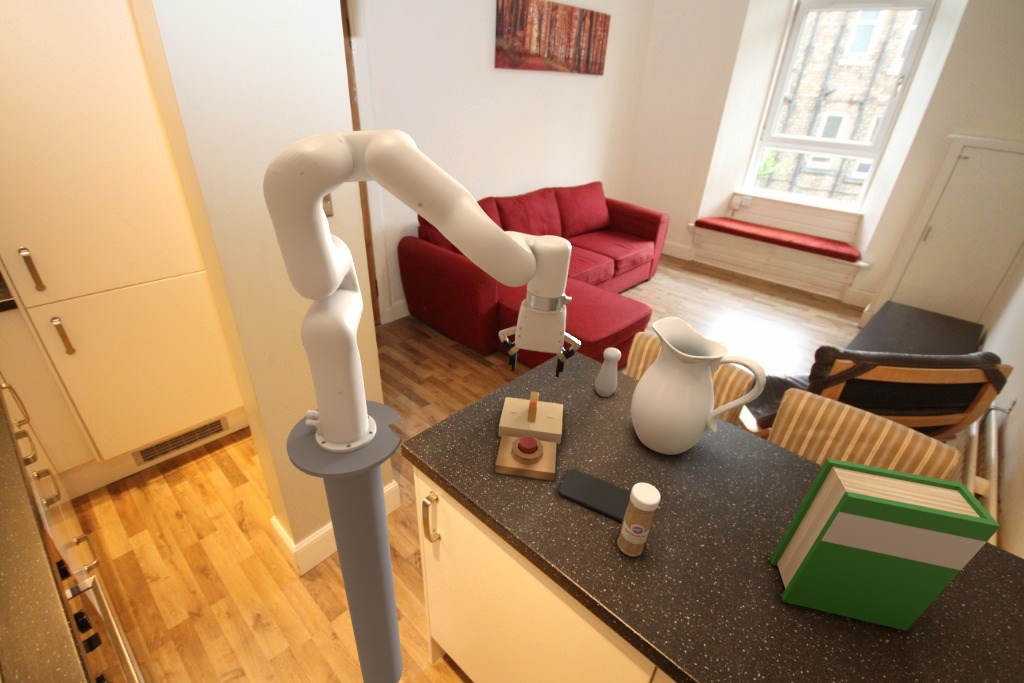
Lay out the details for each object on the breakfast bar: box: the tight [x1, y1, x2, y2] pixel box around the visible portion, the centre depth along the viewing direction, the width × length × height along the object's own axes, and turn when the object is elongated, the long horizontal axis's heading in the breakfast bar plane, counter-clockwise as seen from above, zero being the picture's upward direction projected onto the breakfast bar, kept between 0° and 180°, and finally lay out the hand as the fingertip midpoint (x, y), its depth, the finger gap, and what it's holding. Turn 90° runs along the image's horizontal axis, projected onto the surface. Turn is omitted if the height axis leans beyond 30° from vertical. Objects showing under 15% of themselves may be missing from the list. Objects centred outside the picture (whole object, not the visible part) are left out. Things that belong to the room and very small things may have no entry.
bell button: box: [519, 436, 537, 454], centre depth 92 cm, size 4×4×2 cm
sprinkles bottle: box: [616, 482, 662, 558], centre depth 75 cm, size 5×5×14 cm
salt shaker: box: [594, 347, 622, 398], centre depth 115 cm, size 6×6×13 cm
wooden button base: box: [494, 435, 557, 482], centre depth 93 cm, size 12×9×4 cm
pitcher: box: [630, 316, 767, 456], centre depth 94 cm, size 24×17×28 cm
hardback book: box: [769, 457, 1001, 631], centre depth 67 cm, size 18×7×24 cm, turn 78°
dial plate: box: [497, 396, 564, 445], centre depth 104 cm, size 14×11×3 cm
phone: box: [558, 468, 631, 523], centre depth 87 cm, size 7×1×15 cm
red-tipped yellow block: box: [527, 391, 540, 422], centre depth 102 cm, size 6×2×5 cm, turn 173°
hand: (535, 370), depth 97 cm, fingers open, 9 cm apart
